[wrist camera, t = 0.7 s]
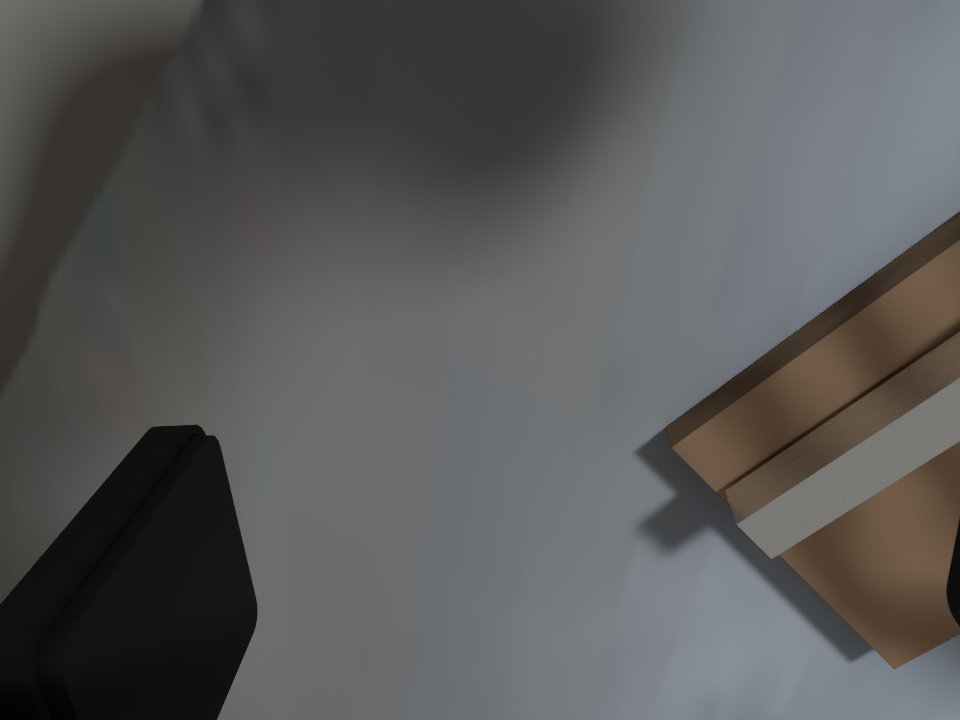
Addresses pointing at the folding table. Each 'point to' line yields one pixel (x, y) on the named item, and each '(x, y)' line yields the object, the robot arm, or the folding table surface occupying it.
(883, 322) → the plate
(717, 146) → the folding table surface
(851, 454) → the lock bar
